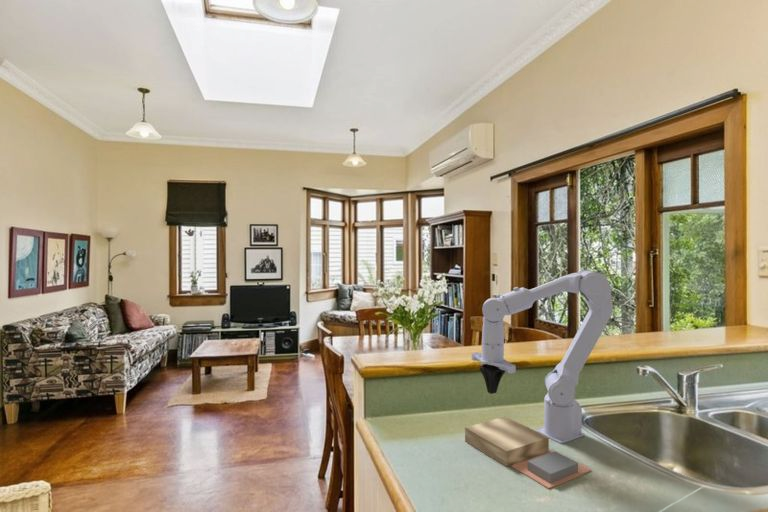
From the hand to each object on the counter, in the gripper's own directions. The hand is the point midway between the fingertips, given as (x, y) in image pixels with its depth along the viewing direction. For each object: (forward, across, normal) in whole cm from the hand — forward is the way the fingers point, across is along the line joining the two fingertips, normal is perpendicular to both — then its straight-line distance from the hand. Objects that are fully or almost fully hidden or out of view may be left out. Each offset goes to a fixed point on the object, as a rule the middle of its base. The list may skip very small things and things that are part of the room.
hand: (492, 392), depth 117 cm
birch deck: (+9, +10, -5) cm, 15 cm away
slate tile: (+7, +24, -5) cm, 25 cm away
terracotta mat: (+9, +22, -4) cm, 25 cm away
